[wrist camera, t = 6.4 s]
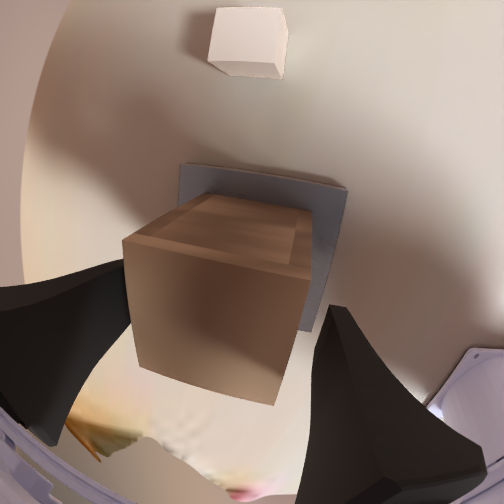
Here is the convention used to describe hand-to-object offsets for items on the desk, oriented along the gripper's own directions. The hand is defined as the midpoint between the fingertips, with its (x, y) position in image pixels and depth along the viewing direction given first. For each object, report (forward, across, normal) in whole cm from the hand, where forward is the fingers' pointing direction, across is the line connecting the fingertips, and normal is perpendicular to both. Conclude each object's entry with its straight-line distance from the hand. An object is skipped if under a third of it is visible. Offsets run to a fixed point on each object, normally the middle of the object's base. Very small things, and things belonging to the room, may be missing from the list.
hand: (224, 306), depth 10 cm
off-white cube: (+5, +1, -10) cm, 11 cm away
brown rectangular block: (+5, 0, 0) cm, 5 cm away
